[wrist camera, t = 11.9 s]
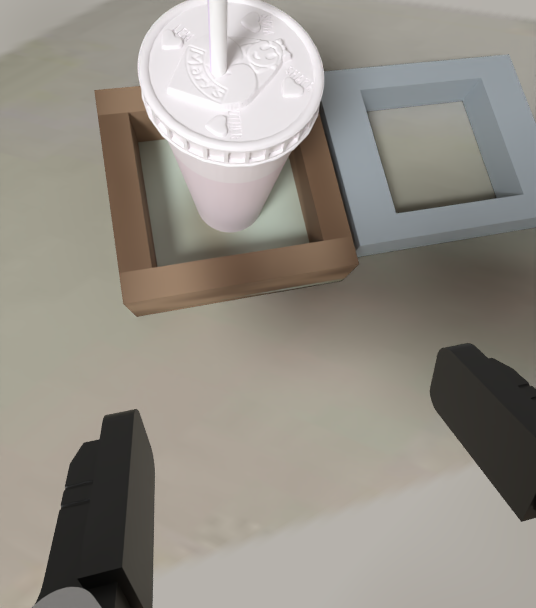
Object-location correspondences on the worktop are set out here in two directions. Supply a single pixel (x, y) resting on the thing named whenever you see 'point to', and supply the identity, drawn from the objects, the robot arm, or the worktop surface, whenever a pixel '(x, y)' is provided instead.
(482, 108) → the grey square picture frame
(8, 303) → the worktop surface
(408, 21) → the worktop surface
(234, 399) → the worktop surface
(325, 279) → the brown picture frame
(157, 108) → the smoothie
